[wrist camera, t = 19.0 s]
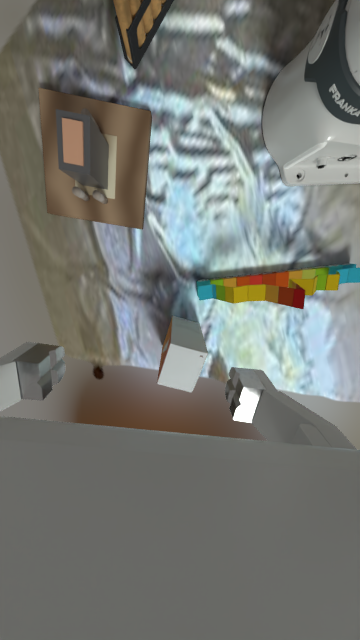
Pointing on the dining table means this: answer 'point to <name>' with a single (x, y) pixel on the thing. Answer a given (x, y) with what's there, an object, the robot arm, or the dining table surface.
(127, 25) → the ammunition clip
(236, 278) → the chart
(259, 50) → the dining table surface
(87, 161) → the plug block
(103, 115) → the board
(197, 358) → the small box
